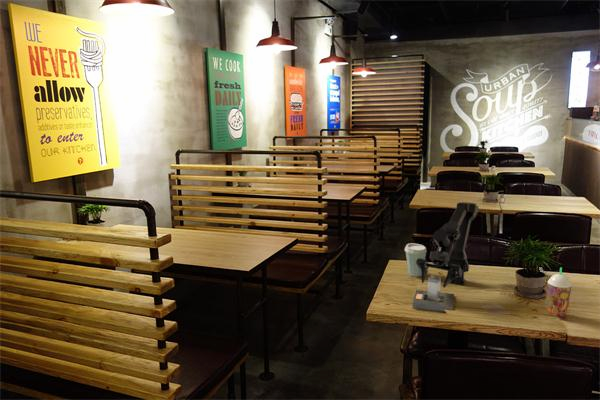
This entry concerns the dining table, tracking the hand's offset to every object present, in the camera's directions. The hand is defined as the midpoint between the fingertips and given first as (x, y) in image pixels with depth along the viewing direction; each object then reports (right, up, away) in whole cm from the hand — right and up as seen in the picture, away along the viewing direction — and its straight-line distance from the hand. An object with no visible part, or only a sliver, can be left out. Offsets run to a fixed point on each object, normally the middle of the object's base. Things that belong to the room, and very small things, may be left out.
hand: (432, 284), depth 198 cm
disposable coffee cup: (+1, -2, +36) cm, 36 cm away
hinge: (+56, -2, +26) cm, 62 cm away
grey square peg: (+1, -9, +3) cm, 9 cm away
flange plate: (+1, -9, +3) cm, 9 cm away
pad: (+23, -10, -7) cm, 26 cm away
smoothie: (+46, -10, -11) cm, 48 cm away
